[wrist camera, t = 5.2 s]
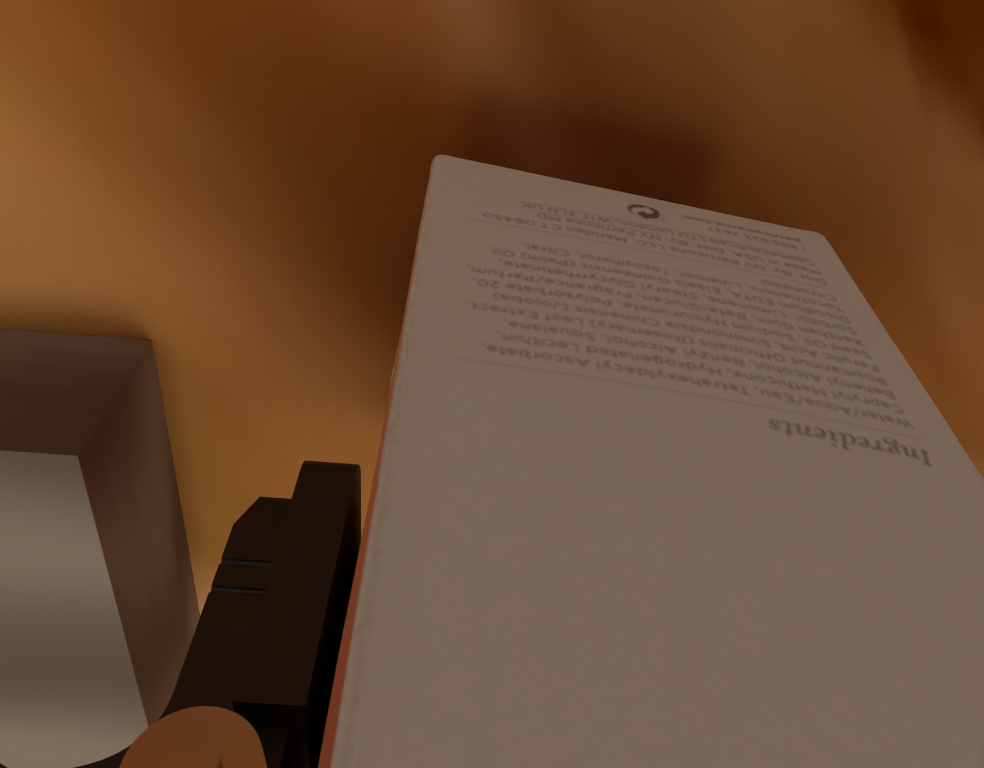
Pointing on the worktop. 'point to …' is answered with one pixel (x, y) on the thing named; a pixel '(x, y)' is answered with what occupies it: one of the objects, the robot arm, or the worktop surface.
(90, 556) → the metal block
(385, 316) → the worktop surface
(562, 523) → the small box
